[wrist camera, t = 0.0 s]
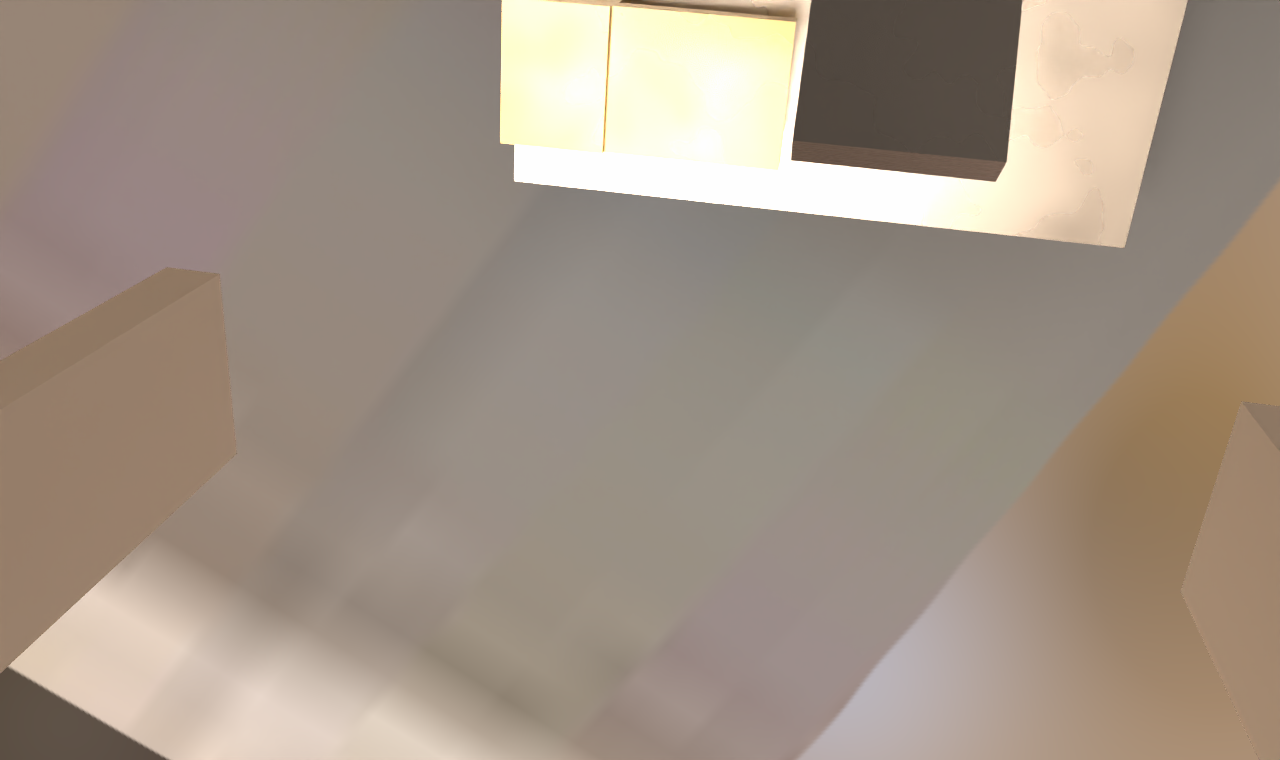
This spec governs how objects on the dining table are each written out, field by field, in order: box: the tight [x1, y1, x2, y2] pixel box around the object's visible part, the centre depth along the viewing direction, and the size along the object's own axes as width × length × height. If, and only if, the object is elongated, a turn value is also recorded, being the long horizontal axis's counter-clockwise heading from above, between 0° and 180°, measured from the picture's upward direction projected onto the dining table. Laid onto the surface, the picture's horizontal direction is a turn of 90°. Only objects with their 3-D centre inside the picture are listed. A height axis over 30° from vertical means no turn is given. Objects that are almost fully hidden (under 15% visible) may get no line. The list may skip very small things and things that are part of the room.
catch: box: [500, 0, 797, 170], centre depth 32 cm, size 4×8×3 cm, turn 86°
